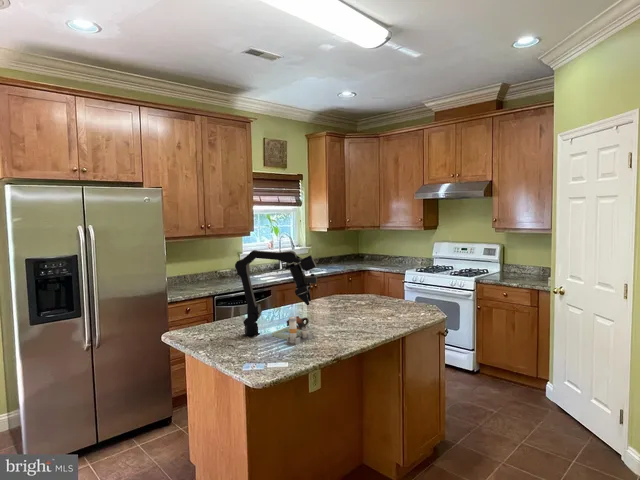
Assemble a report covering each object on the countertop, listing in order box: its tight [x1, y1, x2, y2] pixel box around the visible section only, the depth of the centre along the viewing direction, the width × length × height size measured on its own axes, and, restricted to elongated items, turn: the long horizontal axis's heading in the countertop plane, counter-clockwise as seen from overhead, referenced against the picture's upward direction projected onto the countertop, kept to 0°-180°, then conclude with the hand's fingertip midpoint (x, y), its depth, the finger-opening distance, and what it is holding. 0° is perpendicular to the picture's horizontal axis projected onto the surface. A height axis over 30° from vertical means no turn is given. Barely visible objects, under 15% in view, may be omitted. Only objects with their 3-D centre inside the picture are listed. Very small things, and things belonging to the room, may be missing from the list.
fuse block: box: [283, 332, 316, 347], centre depth 199 cm, size 6×17×4 cm, turn 142°
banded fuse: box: [288, 316, 298, 344], centre depth 195 cm, size 4×4×12 cm
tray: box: [271, 327, 302, 340], centre depth 208 cm, size 11×11×3 cm
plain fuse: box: [302, 326, 310, 339], centre depth 202 cm, size 4×4×5 cm
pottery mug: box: [286, 315, 310, 330], centre depth 221 cm, size 12×10×8 cm
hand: (309, 303), depth 210 cm, fingers open, 9 cm apart
